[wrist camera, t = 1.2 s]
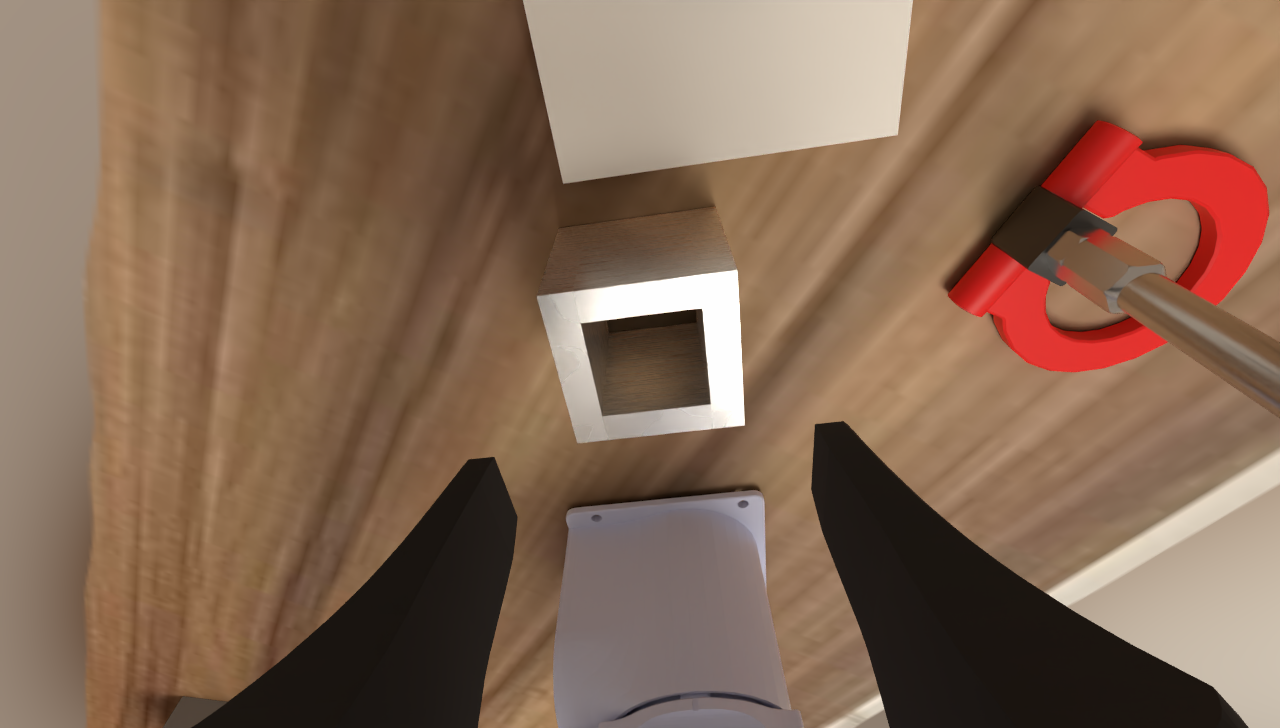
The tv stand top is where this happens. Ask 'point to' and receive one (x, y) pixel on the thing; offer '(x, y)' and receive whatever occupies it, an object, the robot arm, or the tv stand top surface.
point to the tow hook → (1130, 263)
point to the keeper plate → (714, 78)
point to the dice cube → (192, 712)
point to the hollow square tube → (654, 357)
